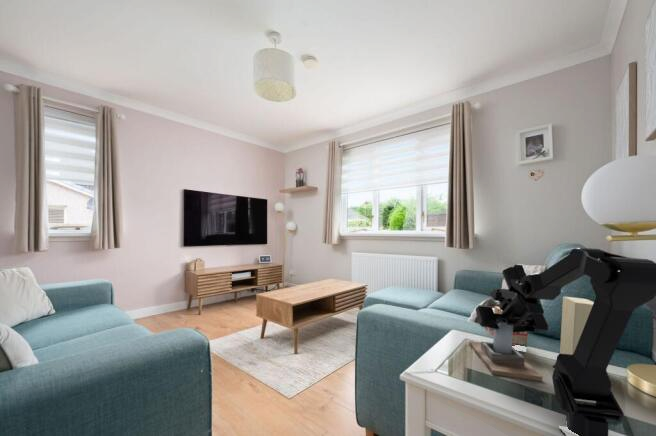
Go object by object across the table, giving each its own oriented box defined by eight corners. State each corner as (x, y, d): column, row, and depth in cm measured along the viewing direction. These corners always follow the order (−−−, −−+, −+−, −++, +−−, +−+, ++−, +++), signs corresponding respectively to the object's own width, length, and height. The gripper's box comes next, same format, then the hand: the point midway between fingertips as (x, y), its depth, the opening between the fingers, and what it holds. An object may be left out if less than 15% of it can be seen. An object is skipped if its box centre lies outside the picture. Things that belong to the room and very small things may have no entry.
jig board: (542, 381, 77) (542, 368, 77) (492, 374, 79) (492, 361, 79) (508, 349, 96) (508, 338, 96) (469, 344, 99) (469, 334, 99)
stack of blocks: (484, 328, 117) (485, 299, 117) (500, 330, 115) (501, 301, 116) (507, 351, 96) (509, 316, 96) (527, 353, 94) (528, 318, 95)
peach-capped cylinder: (511, 362, 84) (514, 321, 84) (492, 357, 87) (495, 317, 86) (510, 355, 88) (513, 316, 88) (492, 350, 91) (495, 312, 91)
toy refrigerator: (602, 376, 81) (604, 305, 82) (571, 370, 84) (574, 302, 84) (586, 363, 89) (589, 299, 89) (559, 358, 91) (561, 296, 92)
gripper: (543, 285, 83) (521, 310, 94) (479, 280, 85) (464, 305, 96) (561, 319, 75) (534, 342, 86) (490, 313, 77) (472, 336, 88)
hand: (500, 330), depth 89 cm, fingers open, 6 cm apart
